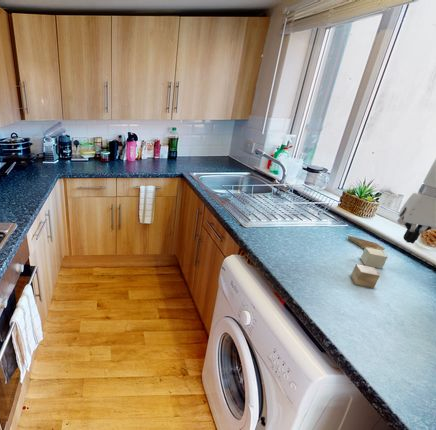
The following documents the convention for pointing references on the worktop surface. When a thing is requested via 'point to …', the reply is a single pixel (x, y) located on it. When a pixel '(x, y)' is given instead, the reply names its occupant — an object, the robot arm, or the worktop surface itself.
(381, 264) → the cream block
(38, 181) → the worktop surface
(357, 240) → the shard
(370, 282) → the maple block
